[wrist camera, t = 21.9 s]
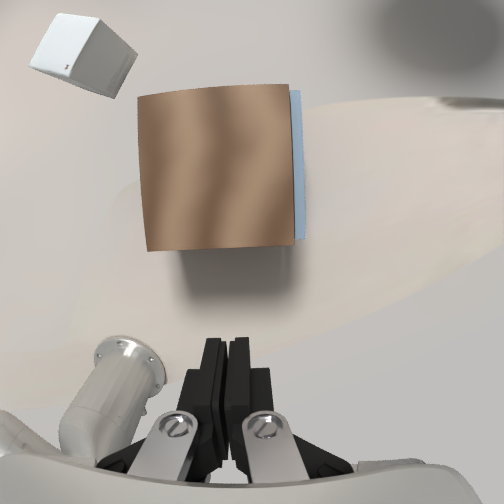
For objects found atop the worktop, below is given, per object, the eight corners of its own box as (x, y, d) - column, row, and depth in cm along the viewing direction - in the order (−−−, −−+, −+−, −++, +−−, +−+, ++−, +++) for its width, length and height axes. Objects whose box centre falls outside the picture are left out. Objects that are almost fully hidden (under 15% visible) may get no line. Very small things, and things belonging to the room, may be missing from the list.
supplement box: (140, 54, 33) (102, 17, 21) (114, 100, 35) (67, 79, 23) (100, 43, 32) (57, 11, 20) (77, 87, 34) (26, 67, 22)
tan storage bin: (174, 228, 40) (147, 251, 29) (167, 115, 36) (137, 96, 25) (281, 223, 40) (294, 245, 29) (277, 108, 36) (288, 84, 25)
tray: (181, 228, 38) (163, 245, 30) (175, 114, 35) (155, 99, 26) (292, 223, 38) (305, 238, 30) (288, 107, 35) (300, 90, 26)
